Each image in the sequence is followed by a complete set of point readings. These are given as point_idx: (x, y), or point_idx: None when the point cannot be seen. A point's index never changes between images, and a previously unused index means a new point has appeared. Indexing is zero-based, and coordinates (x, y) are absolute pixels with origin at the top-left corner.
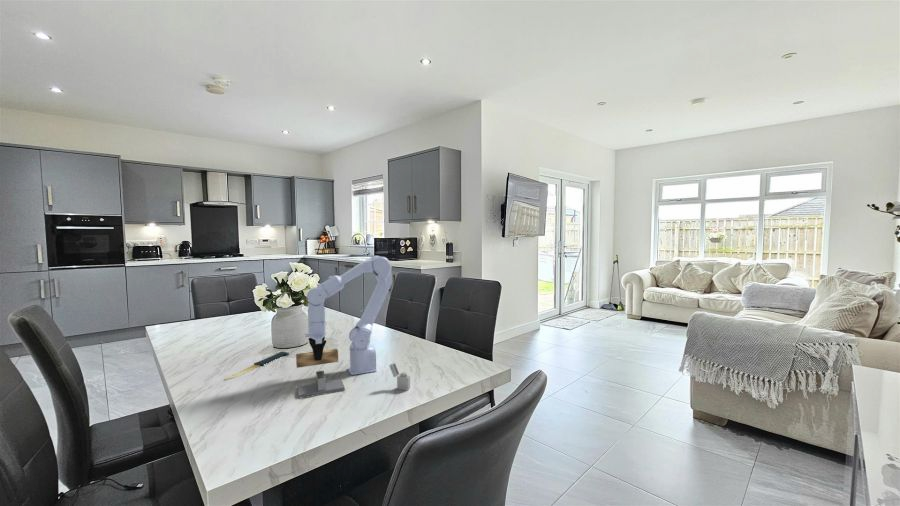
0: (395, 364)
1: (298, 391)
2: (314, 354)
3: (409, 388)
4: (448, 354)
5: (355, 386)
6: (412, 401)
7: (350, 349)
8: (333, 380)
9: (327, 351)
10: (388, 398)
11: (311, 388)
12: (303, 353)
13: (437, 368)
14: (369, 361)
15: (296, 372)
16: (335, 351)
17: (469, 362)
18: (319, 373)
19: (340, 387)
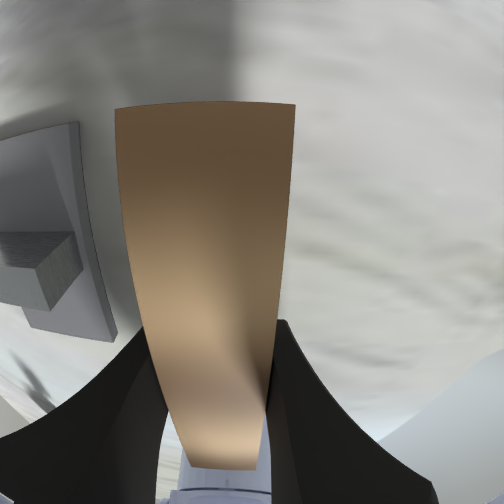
0: None
1: (6, 140)
2: (117, 362)
3: None
4: None
5: (67, 355)
6: (6, 394)
7: (214, 486)
8: (98, 312)
9: (208, 440)
10: (8, 376)
11: (22, 203)
12: (259, 242)
13: (170, 479)
14: None
15: (400, 128)
16: (189, 460)
17: None
18: (12, 282)
19: (28, 315)
